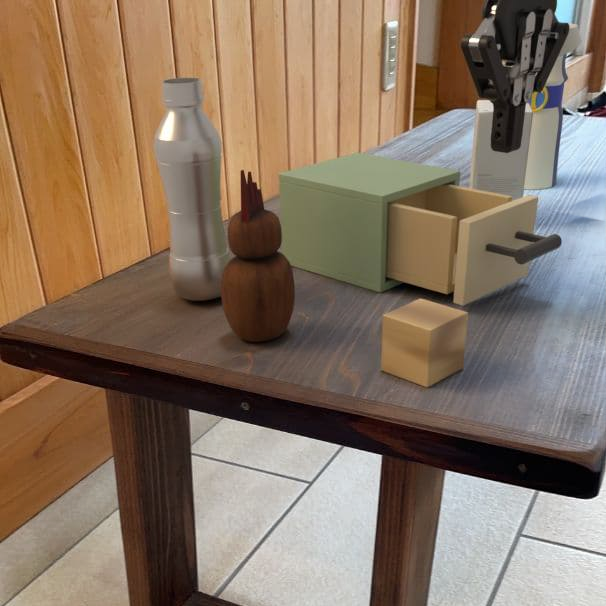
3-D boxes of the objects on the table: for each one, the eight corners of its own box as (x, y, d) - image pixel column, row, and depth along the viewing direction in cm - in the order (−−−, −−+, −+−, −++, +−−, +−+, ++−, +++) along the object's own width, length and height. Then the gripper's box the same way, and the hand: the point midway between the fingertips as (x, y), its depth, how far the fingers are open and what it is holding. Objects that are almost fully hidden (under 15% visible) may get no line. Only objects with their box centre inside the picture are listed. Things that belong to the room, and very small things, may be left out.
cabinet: (453, 262, 95) (460, 170, 89) (380, 292, 88) (382, 196, 82) (356, 237, 104) (356, 152, 98) (282, 263, 96) (278, 173, 91)
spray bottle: (555, 192, 117) (585, -25, 102) (493, 187, 120) (514, -25, 105) (565, 178, 123) (595, -29, 109) (506, 173, 126) (528, -29, 111)
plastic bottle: (245, 289, 90) (230, 76, 78) (214, 312, 85) (193, 88, 73) (192, 282, 92) (170, 73, 80) (159, 303, 87) (130, 85, 75)
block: (417, 352, 76) (420, 297, 73) (463, 368, 73) (468, 312, 70) (380, 370, 73) (382, 314, 70) (427, 387, 70) (430, 330, 67)
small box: (519, 228, 105) (534, 111, 97) (467, 227, 105) (477, 111, 98) (515, 209, 111) (528, 98, 103) (466, 209, 112) (475, 99, 104)
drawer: (568, 285, 86) (581, 204, 81) (504, 317, 79) (514, 232, 75) (425, 248, 96) (429, 176, 92) (358, 275, 90) (359, 198, 85)
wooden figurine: (258, 354, 76) (247, 178, 67) (213, 339, 79) (197, 168, 71) (307, 331, 80) (303, 161, 72) (262, 317, 84) (253, 153, 75)
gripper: (524, -92, 60) (498, 171, 70) (618, -95, 67) (581, 143, 77) (438, -89, 64) (425, 158, 74) (535, -92, 71) (511, 133, 82)
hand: (505, 150), depth 76 cm, fingers closed
